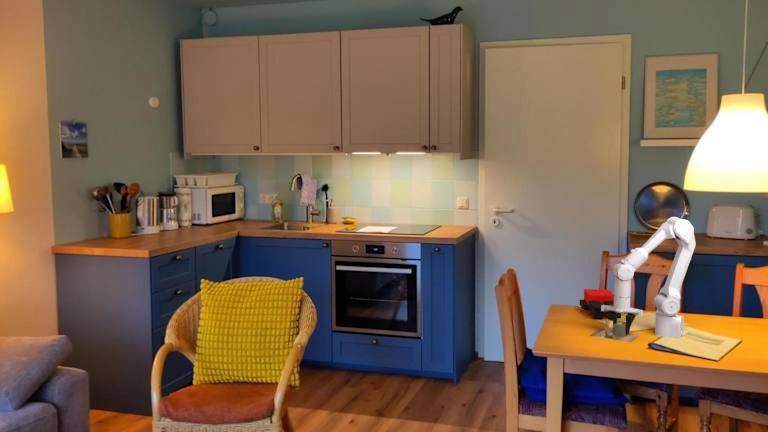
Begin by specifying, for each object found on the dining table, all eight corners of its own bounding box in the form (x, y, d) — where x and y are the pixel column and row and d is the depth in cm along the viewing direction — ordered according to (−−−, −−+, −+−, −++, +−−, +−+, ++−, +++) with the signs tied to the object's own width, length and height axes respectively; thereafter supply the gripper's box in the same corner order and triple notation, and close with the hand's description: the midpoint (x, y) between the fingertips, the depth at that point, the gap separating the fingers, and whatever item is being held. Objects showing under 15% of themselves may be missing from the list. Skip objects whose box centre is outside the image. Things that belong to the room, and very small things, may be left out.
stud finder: (628, 333, 261) (629, 321, 260) (624, 336, 256) (624, 324, 256) (617, 331, 263) (618, 319, 263) (613, 335, 258) (613, 323, 258)
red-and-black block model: (588, 302, 280) (579, 289, 305) (588, 322, 281) (578, 308, 306) (626, 303, 278) (614, 289, 303) (626, 323, 279) (613, 308, 304)
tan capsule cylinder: (613, 337, 256) (613, 320, 255) (611, 338, 254) (611, 322, 253) (606, 335, 258) (606, 319, 257) (604, 337, 255) (604, 321, 255)
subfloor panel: (640, 337, 259) (640, 334, 259) (631, 345, 250) (631, 342, 249) (599, 331, 268) (600, 328, 268) (589, 338, 258) (589, 335, 258)
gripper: (598, 295, 259) (597, 331, 260) (639, 300, 251) (638, 338, 252) (604, 292, 265) (603, 327, 266) (644, 297, 256) (643, 333, 258)
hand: (621, 332), depth 260 cm, fingers closed on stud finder, 4 cm apart
